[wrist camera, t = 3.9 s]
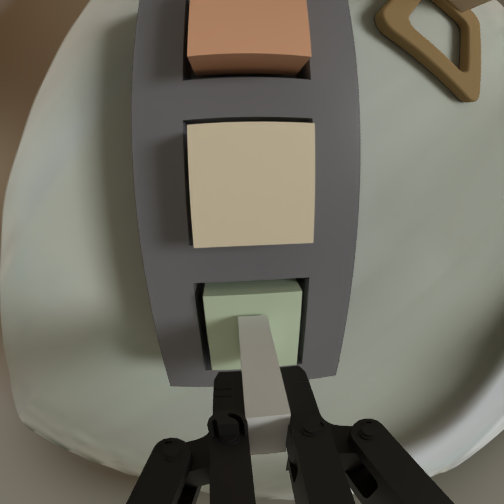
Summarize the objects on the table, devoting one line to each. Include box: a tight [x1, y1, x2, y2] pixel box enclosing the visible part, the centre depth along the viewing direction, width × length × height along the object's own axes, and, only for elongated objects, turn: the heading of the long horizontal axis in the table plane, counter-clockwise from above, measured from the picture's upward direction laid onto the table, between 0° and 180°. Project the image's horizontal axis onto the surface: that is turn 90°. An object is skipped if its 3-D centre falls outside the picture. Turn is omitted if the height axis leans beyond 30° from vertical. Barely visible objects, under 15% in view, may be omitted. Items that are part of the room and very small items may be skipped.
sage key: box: [203, 278, 302, 370], centre depth 16 cm, size 5×5×3 cm
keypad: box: [131, 0, 360, 387], centre depth 15 cm, size 25×11×4 cm, turn 1°
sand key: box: [187, 122, 315, 248], centre depth 12 cm, size 5×5×3 cm
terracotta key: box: [187, 0, 312, 76], centre depth 10 cm, size 5×5×3 cm
